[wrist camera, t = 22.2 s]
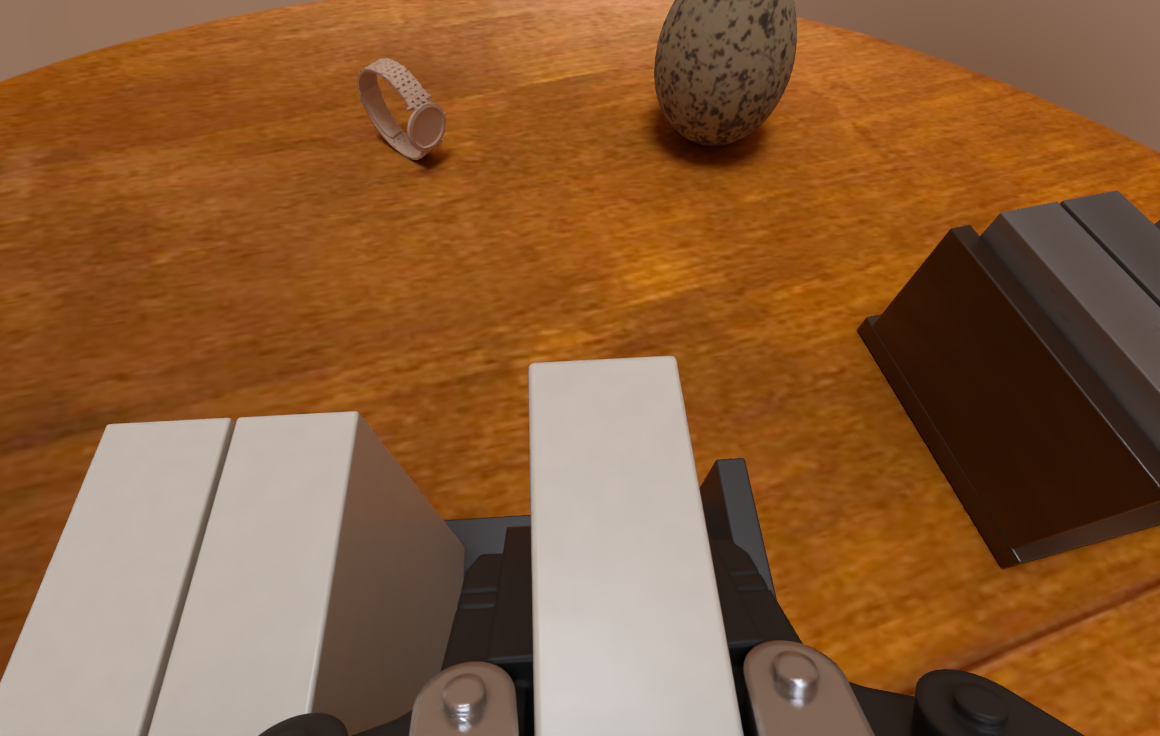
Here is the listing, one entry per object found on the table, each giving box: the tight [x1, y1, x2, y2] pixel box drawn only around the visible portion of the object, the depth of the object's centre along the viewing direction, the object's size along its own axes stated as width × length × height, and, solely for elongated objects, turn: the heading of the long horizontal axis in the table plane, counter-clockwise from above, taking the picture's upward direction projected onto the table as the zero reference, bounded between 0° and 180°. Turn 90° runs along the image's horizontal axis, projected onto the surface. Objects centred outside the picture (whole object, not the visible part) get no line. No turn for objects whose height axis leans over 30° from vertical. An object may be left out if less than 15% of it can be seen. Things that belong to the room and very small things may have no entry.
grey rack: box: [858, 191, 1160, 568], centre depth 20 cm, size 14×11×8 cm
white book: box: [528, 356, 744, 736], centre depth 12 cm, size 2×9×12 cm, turn 4°
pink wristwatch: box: [357, 58, 446, 160], centre depth 30 cm, size 3×5×5 cm, turn 52°
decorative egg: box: [654, 0, 797, 146], centre depth 28 cm, size 7×7×10 cm
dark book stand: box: [0, 411, 777, 736], centre depth 13 cm, size 14×11×12 cm
